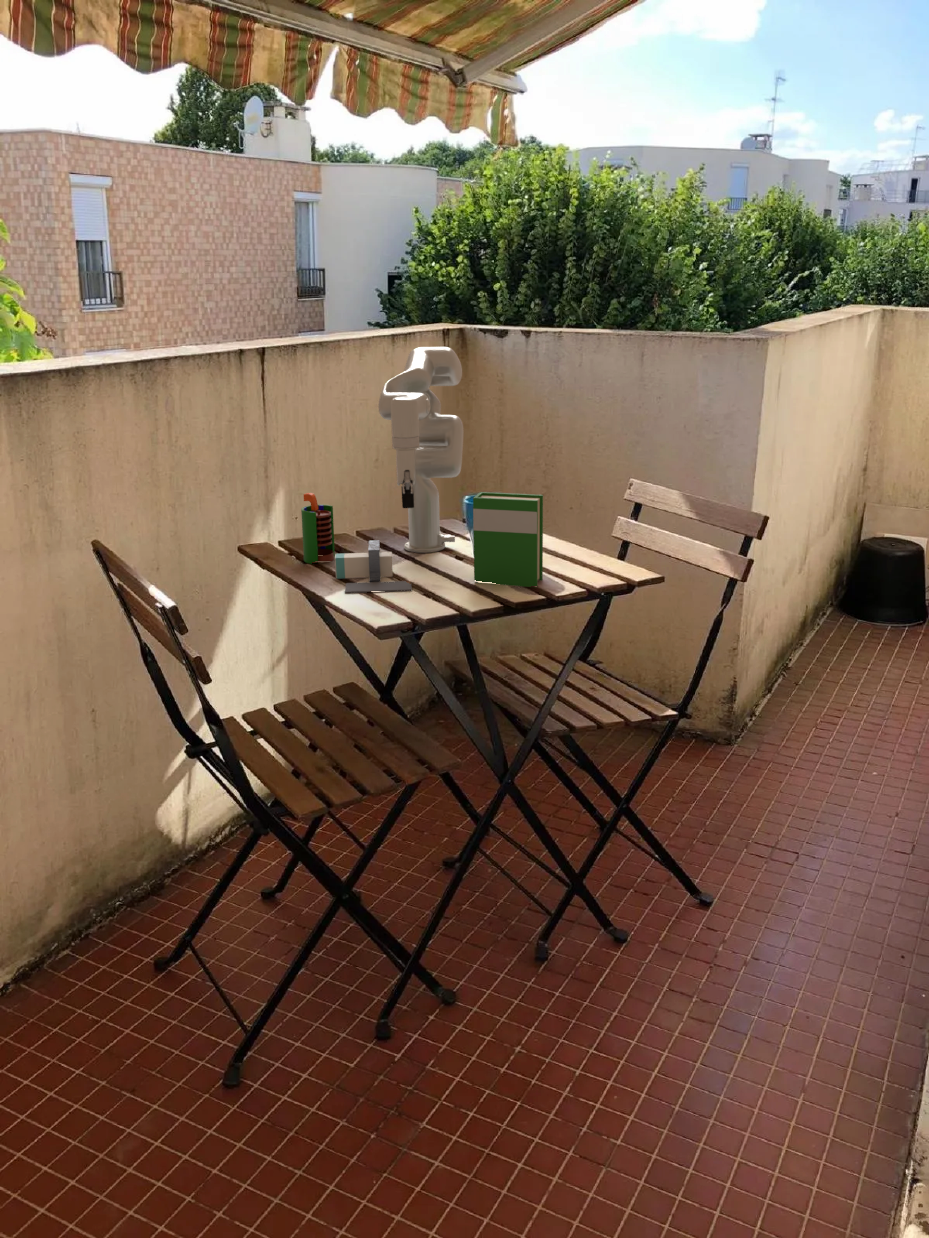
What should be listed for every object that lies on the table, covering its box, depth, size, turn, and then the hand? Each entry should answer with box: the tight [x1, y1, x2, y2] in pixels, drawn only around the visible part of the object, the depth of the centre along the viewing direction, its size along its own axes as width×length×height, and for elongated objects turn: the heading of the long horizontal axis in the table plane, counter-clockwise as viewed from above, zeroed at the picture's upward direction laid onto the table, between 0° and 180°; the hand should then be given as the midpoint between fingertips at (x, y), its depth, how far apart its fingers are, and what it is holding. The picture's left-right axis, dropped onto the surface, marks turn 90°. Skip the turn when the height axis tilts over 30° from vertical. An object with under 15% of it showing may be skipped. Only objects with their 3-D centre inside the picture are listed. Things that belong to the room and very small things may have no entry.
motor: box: [300, 492, 336, 565], centre depth 326 cm, size 10×9×20 cm
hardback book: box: [472, 491, 544, 588], centre depth 301 cm, size 18×7×24 cm, turn 74°
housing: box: [367, 539, 382, 582], centre depth 312 cm, size 3×16×9 cm, turn 4°
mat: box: [344, 580, 413, 594], centre depth 301 cm, size 18×8×1 cm, turn 94°
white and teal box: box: [334, 551, 394, 579], centre depth 312 cm, size 16×4×6 cm, turn 94°
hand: (407, 503), depth 307 cm, fingers open, 9 cm apart
